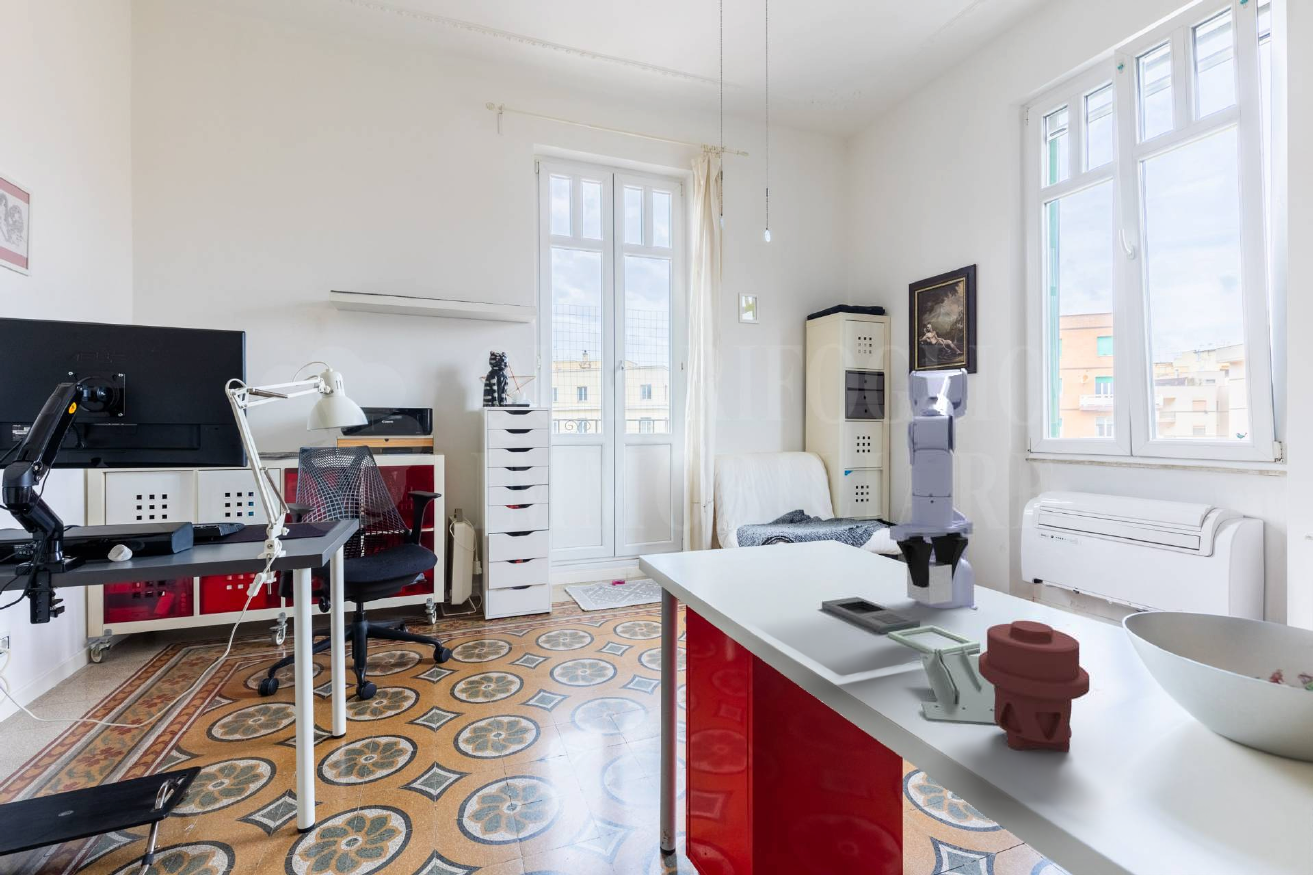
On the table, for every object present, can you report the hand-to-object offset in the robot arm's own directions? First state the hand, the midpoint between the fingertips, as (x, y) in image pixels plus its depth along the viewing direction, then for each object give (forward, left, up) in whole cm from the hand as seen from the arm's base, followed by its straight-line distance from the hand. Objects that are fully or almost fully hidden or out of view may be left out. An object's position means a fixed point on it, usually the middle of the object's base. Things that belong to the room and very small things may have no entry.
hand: (932, 584), depth 92 cm
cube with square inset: (0, -1, -2) cm, 2 cm away
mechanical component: (+12, +25, -10) cm, 30 cm away
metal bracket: (+9, +16, -10) cm, 21 cm away
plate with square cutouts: (+1, -13, -10) cm, 16 cm away
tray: (0, 0, -10) cm, 10 cm away
